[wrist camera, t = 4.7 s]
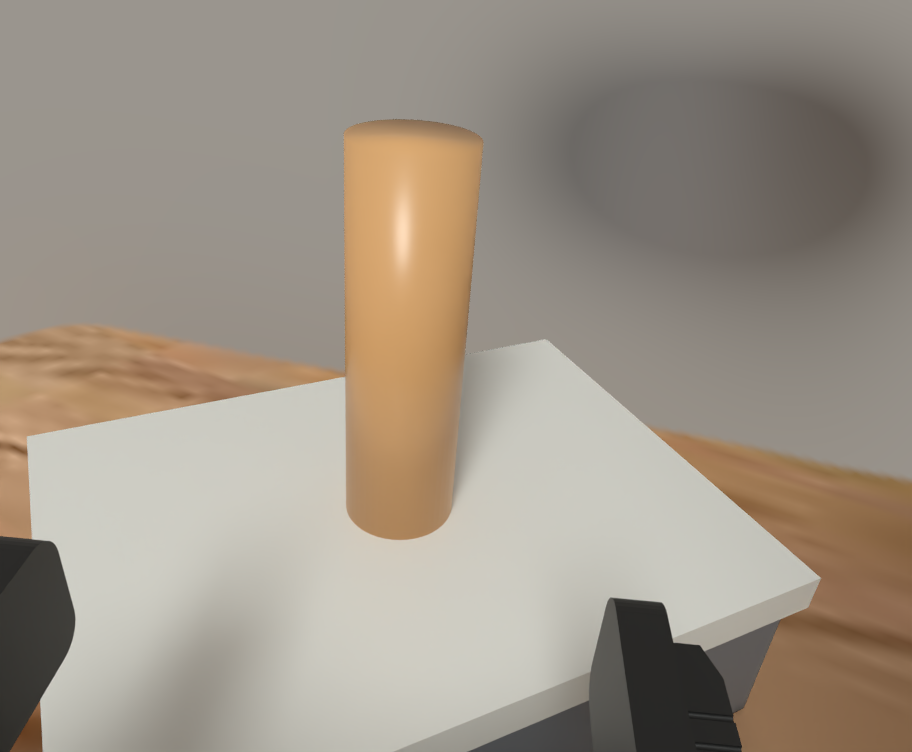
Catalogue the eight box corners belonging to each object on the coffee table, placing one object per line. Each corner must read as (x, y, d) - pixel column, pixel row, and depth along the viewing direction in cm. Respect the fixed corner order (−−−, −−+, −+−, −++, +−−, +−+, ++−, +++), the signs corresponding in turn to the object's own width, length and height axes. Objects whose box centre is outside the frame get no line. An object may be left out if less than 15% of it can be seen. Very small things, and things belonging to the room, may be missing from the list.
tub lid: (538, 394, 35) (586, 67, 27) (792, 643, 24) (984, 205, 16) (44, 503, 27) (-70, 78, 19) (78, 961, 15) (-160, 369, 8)
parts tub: (526, 461, 36) (539, 369, 33) (743, 708, 25) (788, 601, 23) (76, 578, 28) (49, 470, 26) (123, 1002, 18) (84, 892, 15)
